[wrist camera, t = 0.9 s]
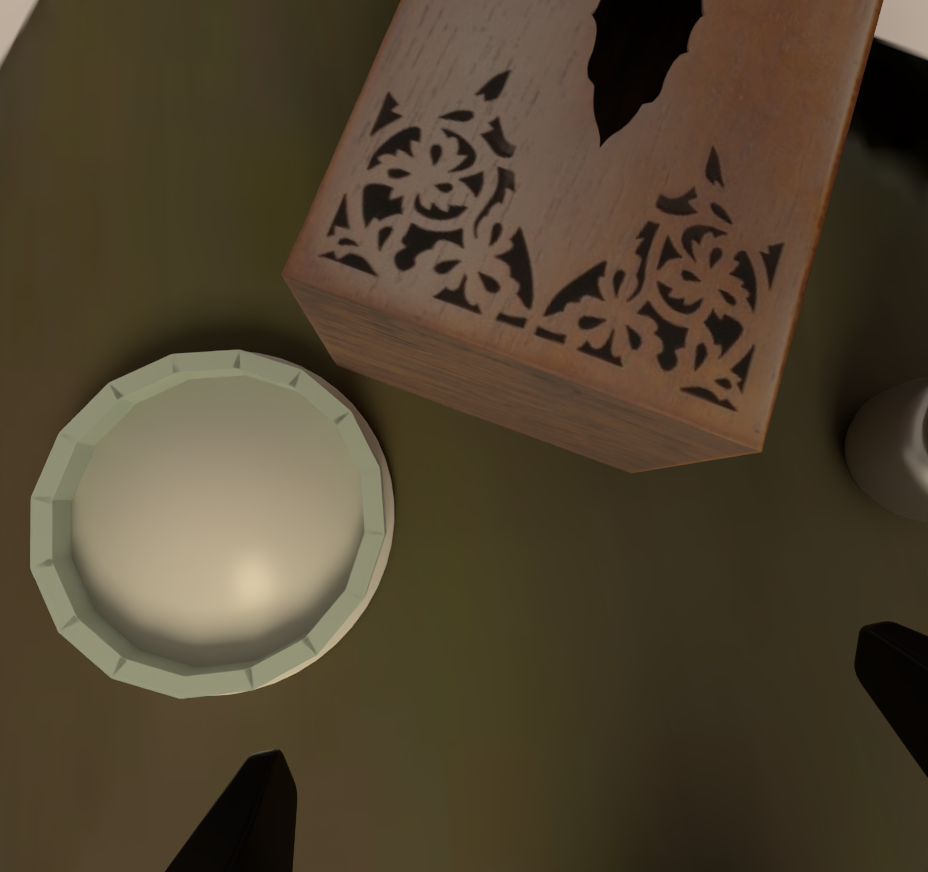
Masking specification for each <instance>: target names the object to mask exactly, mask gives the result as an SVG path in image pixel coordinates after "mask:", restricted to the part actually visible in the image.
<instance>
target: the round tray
mask: <svg viewBox="0 0 928 872" xmlns="http://www.w3.org/2000/svg"><path fill="white" fill-rule="evenodd" d="M394 523H395V512H394V494H393V487H392V480H391V476H390V473H389V469H388V465H387V462H386V459H385V456H384V454H383V452H382V449H381V447H380V445H379V442H378V440H377V438H376V437H375V435H374V433H373V432H372V430H371V428H370V427H369V425H368V423H367V422H366V420H365V419H364V418H363V417H362V415H361V414H360V413H359V412H358V410H357V409H356V408H355V406H354V405H353V404H352V403H351V402H350V401H349V400H348V399H347V398H346V397H345V396H344V395H343V394H342V393H341V392H340V391H339V390H337V389H336V388H335V387H333V386H332V385H331V384H329V383H328V382H327V381H325V380H324V379H323V378H321V377H320V376H318V375H316V374H314V373H313V372H311V371H309V370H307V369H305V368H303V367H302V366H299V365H297V364H294V363H291V362H289V361H286V360H284V359H281V358H277V357H273V356H269V355H265V354H261V353H254V352H246V351H243V350H225V351H209V352H194V353H178V354H171V355H169V356H166V357H164V358H162V359H160V360H158V361H155V362H153V363H151V364H149V365H147V366H144V367H142V368H140V369H138V370H136V371H133V372H131V373H129V374H127V375H125V376H122V377H120V378H118V379H116V380H114V381H111V382H109V383H108V384H107V385H106V386H105V387H104V388H103V389H102V390H101V391H100V392H99V393H98V394H97V395H96V396H95V397H94V398H93V399H92V400H91V401H90V402H89V403H88V404H87V405H86V406H85V407H84V408H83V409H82V410H81V411H80V412H79V413H78V414H77V415H76V416H75V417H74V418H73V419H72V420H71V421H70V422H69V423H68V424H67V425H66V426H65V427H64V428H63V429H62V430H61V431H60V432H59V434H58V436H57V439H56V441H55V443H54V446H53V448H52V450H51V452H50V455H49V457H48V459H47V462H46V464H45V466H44V469H43V471H42V473H41V476H40V478H39V480H38V482H37V485H36V487H35V489H34V492H33V494H32V496H31V537H30V569H31V571H32V573H33V576H34V578H35V580H36V582H37V585H38V587H39V589H40V591H41V594H42V596H43V598H44V601H45V603H46V605H47V607H48V610H49V612H50V614H51V616H52V619H53V621H54V623H55V625H56V628H57V630H58V632H59V633H60V634H61V635H62V636H64V637H65V638H66V639H67V640H68V641H69V642H70V643H72V644H73V645H74V646H75V647H76V648H77V649H78V650H80V651H81V652H82V653H83V654H84V655H85V656H86V657H88V658H89V659H90V660H91V661H92V662H93V663H94V664H96V665H97V666H98V667H99V668H100V669H101V670H102V671H104V672H105V673H106V674H107V675H108V676H109V677H110V678H112V679H115V680H119V681H122V682H125V683H129V684H132V685H135V686H139V687H142V688H146V689H149V690H152V691H156V692H159V693H162V694H166V695H169V696H172V697H176V698H179V699H183V698H192V697H200V696H212V695H229V694H235V693H240V692H245V691H251V690H255V689H258V688H261V687H264V686H267V685H270V684H273V683H276V682H278V681H280V680H282V679H284V678H287V677H289V676H291V675H293V674H295V673H297V672H299V671H300V670H302V669H303V668H305V667H307V666H308V665H310V664H311V663H313V662H314V661H316V660H318V659H319V658H320V657H321V656H322V655H324V654H325V653H326V652H327V651H328V650H330V649H331V648H332V647H333V646H334V645H336V644H337V643H338V641H339V640H340V639H341V638H342V637H343V636H344V635H345V634H346V633H347V632H348V631H349V630H350V629H351V628H352V626H353V625H354V624H355V622H356V621H357V620H358V618H359V617H360V615H361V614H362V613H363V611H364V610H365V609H366V607H367V605H368V603H369V602H370V600H371V598H372V596H373V594H374V593H375V591H376V589H377V587H378V585H379V583H380V580H381V578H382V575H383V573H384V570H385V567H386V565H387V561H388V557H389V553H390V549H391V545H392V539H393V531H394Z"/></svg>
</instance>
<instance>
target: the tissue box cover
mask: <svg viewBox="0 0 928 872" xmlns="http://www.w3.org/2000/svg"><path fill="white" fill-rule="evenodd" d="M882 3H883V0H400V3H399V5H398V7H397V10H396V12H395V14H394V17H393V19H392V21H391V23H390V26H389V28H388V30H387V33H386V35H385V37H384V40H383V42H382V44H381V46H380V49H379V51H378V53H377V56H376V58H375V60H374V63H373V65H372V67H371V69H370V72H369V74H368V76H367V79H366V81H365V83H364V86H363V88H362V90H361V92H360V95H359V97H358V99H357V102H356V104H355V106H354V109H353V111H352V113H351V115H350V118H349V120H348V122H347V125H346V127H345V129H344V132H343V134H342V136H341V138H340V141H339V143H338V145H337V148H336V150H335V152H334V155H333V157H332V159H331V161H330V164H329V166H328V168H327V171H326V173H325V175H324V178H323V180H322V182H321V184H320V187H319V189H318V191H317V194H316V196H315V198H314V201H313V203H312V205H311V207H310V210H309V212H308V214H307V217H306V219H305V221H304V224H303V226H302V228H301V230H300V233H299V235H298V237H297V240H296V242H295V244H294V246H293V249H292V251H291V253H290V256H289V258H288V260H287V263H286V265H285V267H284V269H283V272H282V274H281V275H282V277H283V279H284V280H285V282H286V284H287V285H288V287H289V288H290V290H291V292H292V293H293V295H294V297H295V298H296V300H297V302H298V303H299V305H300V306H301V308H302V310H303V311H304V313H305V315H306V316H307V318H308V320H309V321H310V323H311V324H312V326H313V328H314V329H315V331H316V333H317V334H318V336H319V338H320V339H321V341H322V342H323V344H324V346H325V347H326V349H327V351H328V352H329V354H330V356H331V357H332V359H333V360H334V362H335V364H336V365H337V366H338V367H341V368H344V369H347V370H349V371H352V372H355V373H358V374H360V375H363V376H366V377H369V378H371V379H374V380H377V381H380V382H382V383H385V384H388V385H390V386H393V387H396V388H399V389H401V390H404V391H407V392H410V393H412V394H415V395H418V396H421V397H423V398H426V399H429V400H432V401H434V402H437V403H440V404H443V405H445V406H448V407H451V408H453V409H456V410H459V411H462V412H464V413H467V414H470V415H473V416H475V417H478V418H481V419H484V420H486V421H489V422H492V423H495V424H497V425H500V426H503V427H505V428H508V429H511V430H514V431H516V432H519V433H522V434H525V435H527V436H530V437H533V438H536V439H538V440H541V441H544V442H547V443H549V444H552V445H555V446H558V447H560V448H563V449H566V450H568V451H571V452H574V453H577V454H579V455H582V456H585V457H588V458H590V459H593V460H596V461H599V462H601V463H604V464H607V465H610V466H612V467H615V468H618V469H620V470H623V471H626V472H629V473H636V472H642V471H648V470H654V469H660V468H667V467H673V466H679V465H685V464H691V463H697V462H703V461H710V460H716V459H722V458H728V457H734V456H740V455H746V454H752V453H759V452H762V449H763V445H764V442H765V438H766V434H767V430H768V427H769V423H770V419H771V416H772V412H773V408H774V404H775V401H776V397H777V393H778V390H779V386H780V382H781V378H782V375H783V371H784V367H785V364H786V360H787V356H788V352H789V349H790V345H791V341H792V338H793V334H794V330H795V326H796V323H797V319H798V315H799V312H800V308H801V304H802V300H803V297H804V293H805V289H806V286H807V282H808V278H809V274H810V271H811V267H812V263H813V260H814V256H815V252H816V248H817V245H818V241H819V237H820V234H821V230H822V226H823V222H824V219H825V215H826V211H827V208H828V204H829V200H830V196H831V193H832V189H833V185H834V182H835V178H836V174H837V170H838V167H839V163H840V159H841V156H842V152H843V148H844V144H845V141H846V137H847V133H848V130H849V126H850V122H851V118H852V115H853V111H854V107H855V104H856V100H857V96H858V92H859V89H860V85H861V81H862V78H863V74H864V70H865V66H866V63H867V59H868V55H869V52H870V48H871V44H872V40H873V37H874V33H875V29H876V26H877V22H878V18H879V14H880V11H881V7H882Z"/></svg>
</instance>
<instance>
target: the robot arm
mask: <svg viewBox="0 0 928 872" xmlns="http://www.w3.org/2000/svg"><path fill="white" fill-rule="evenodd" d="M854 667H855V672H856V675H857V677H858V679H859V681H860V683H861V684H862V686H863V687H864V688H865V690H866V691H867V693H868V694H869V696H870V697H871V698H872V700H873V701H874V703H875V704H876V705H877V707H878V708H879V710H880V711H881V713H882V714H883V715H884V717H885V718H886V720H887V721H888V722H889V724H890V725H891V727H892V728H893V730H894V731H895V732H896V734H897V735H898V737H899V738H900V739H901V741H902V742H903V744H904V745H905V747H906V748H907V749H908V751H909V752H910V754H911V755H912V756H913V758H914V759H915V761H916V762H917V764H918V765H919V766H920V768H921V769H922V770H923V772H924V773H925V774H926V776H927V777H928V636H926V635H924V634H921V633H919V632H916V631H914V630H912V629H909V628H907V627H904V626H902V625H900V624H897V623H894V622H889V621H885V622H879V623H875V624H870V625H866V626H863V627H862V628H861V630H860V632H859V637H858V643H857V649H856V656H855V662H854ZM296 812H297V789H296V785H295V782H294V779H293V777H292V774H291V772H290V770H289V767H288V765H287V762H286V760H285V757H284V755H283V753H282V751H281V750H279V749H270V750H265V751H260V752H256V753H253V754H252V755H250V756H249V757H248V758H247V759H246V761H245V762H244V764H243V765H242V766H241V768H240V769H239V770H238V772H237V773H236V775H235V776H234V777H233V779H232V780H231V781H230V783H229V784H228V786H227V787H226V788H225V790H224V791H223V792H222V794H221V795H220V797H219V798H218V799H217V801H216V802H215V803H214V805H213V806H212V808H211V809H210V810H209V812H208V813H207V814H206V816H205V817H204V819H203V820H202V821H201V823H200V824H199V825H198V827H197V828H196V830H195V831H194V832H193V834H192V835H191V836H190V838H189V839H188V841H187V842H186V843H185V845H184V846H183V847H182V849H181V850H180V852H179V853H178V854H177V856H176V857H175V858H174V860H173V861H172V863H171V864H170V865H169V867H168V868H167V869H166V871H165V872H292V870H293V856H294V841H295V827H296Z"/></svg>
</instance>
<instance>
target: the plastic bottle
mask: <svg viewBox="0 0 928 872" xmlns="http://www.w3.org/2000/svg"><path fill="white" fill-rule="evenodd" d="M844 449H845V459H846V462H847V466H848V469H849V471H850V473H851V475H852V477H853V479H854V481H855V482H856V483H857V485H858V486H859V487H860V489H861V490H862V491H863V492H864V493H865V494H867V495H868V496H869V497H870V498H871V499H872V500H873V501H874V502H875V503H876V504H878V505H879V506H881V507H882V508H884V509H885V510H887V511H889V512H891V513H893V514H896V515H898V516H900V517H905V518H909V519H914V520H919V521H924V522H928V377H926V378H919V379H913V380H909V381H907V382H904V383H902V384H899V385H897V386H895V387H892V388H890V389H888V390H886V391H884V392H881V393H879V394H877V395H875V396H874V397H872V398H871V399H869V400H868V401H866V402H865V403H864V404H863V406H862V407H861V408H860V409H859V410H858V411H857V413H856V415H855V417H854V418H853V420H852V422H851V424H850V426H849V427H848V431H847V434H846V437H845V446H844Z"/></svg>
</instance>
